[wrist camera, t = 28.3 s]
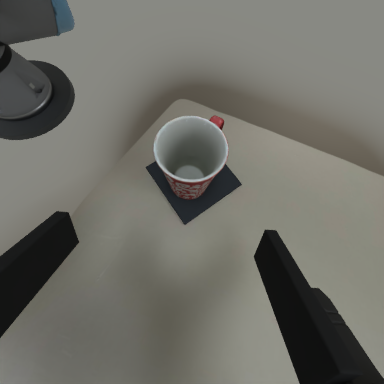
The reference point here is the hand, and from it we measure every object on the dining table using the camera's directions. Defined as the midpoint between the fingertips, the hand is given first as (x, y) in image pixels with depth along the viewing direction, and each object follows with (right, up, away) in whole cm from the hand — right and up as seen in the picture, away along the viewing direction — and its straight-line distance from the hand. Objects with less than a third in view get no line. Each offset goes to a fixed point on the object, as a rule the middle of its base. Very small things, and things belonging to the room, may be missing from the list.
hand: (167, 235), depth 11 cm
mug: (+2, +6, +22) cm, 23 cm away
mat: (+2, +6, +22) cm, 23 cm away
